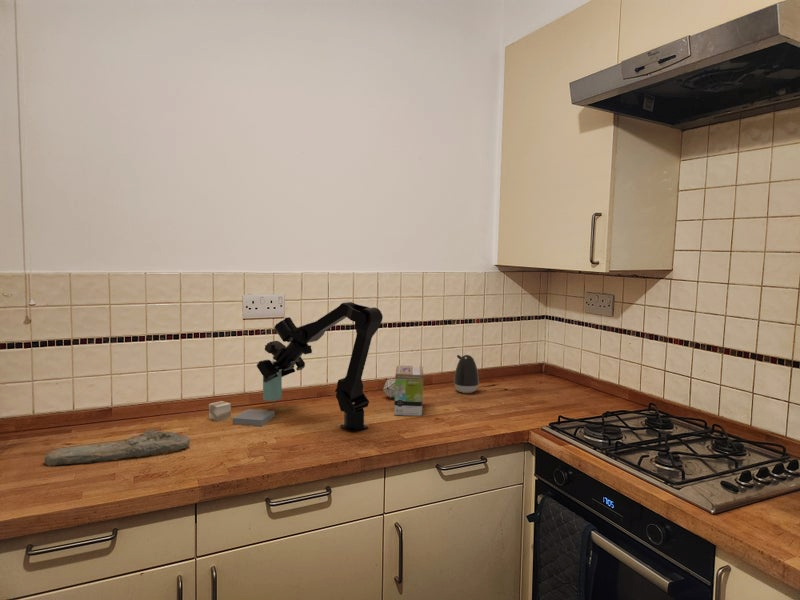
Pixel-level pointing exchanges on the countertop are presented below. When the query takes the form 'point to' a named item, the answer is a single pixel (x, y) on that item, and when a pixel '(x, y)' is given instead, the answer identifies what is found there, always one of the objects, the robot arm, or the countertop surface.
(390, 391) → the game die
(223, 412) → the cream cube
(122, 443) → the long grey stone
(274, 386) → the teal block
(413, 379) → the tea box
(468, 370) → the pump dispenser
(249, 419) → the slate slab
